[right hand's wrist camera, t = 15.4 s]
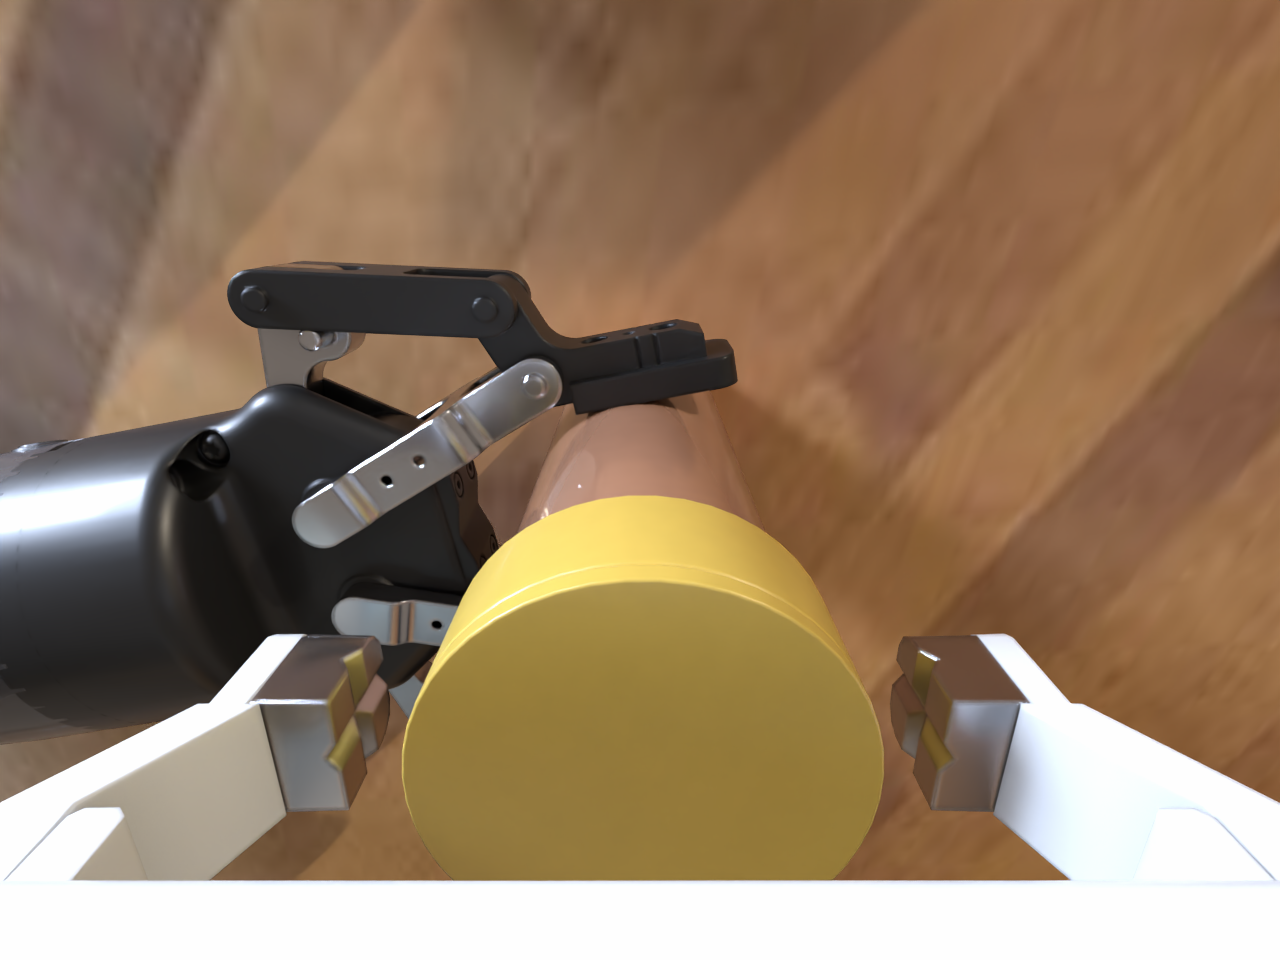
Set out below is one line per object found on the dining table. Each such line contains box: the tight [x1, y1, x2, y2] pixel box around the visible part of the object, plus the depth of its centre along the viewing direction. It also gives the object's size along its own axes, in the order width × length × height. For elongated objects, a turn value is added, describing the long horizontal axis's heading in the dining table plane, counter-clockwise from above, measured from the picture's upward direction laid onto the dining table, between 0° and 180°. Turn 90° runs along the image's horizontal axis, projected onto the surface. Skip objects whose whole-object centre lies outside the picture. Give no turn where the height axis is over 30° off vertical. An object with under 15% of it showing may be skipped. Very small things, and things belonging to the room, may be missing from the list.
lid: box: [402, 496, 884, 881], centre depth 9 cm, size 6×6×2 cm
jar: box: [517, 391, 766, 534], centre depth 16 cm, size 5×5×16 cm
